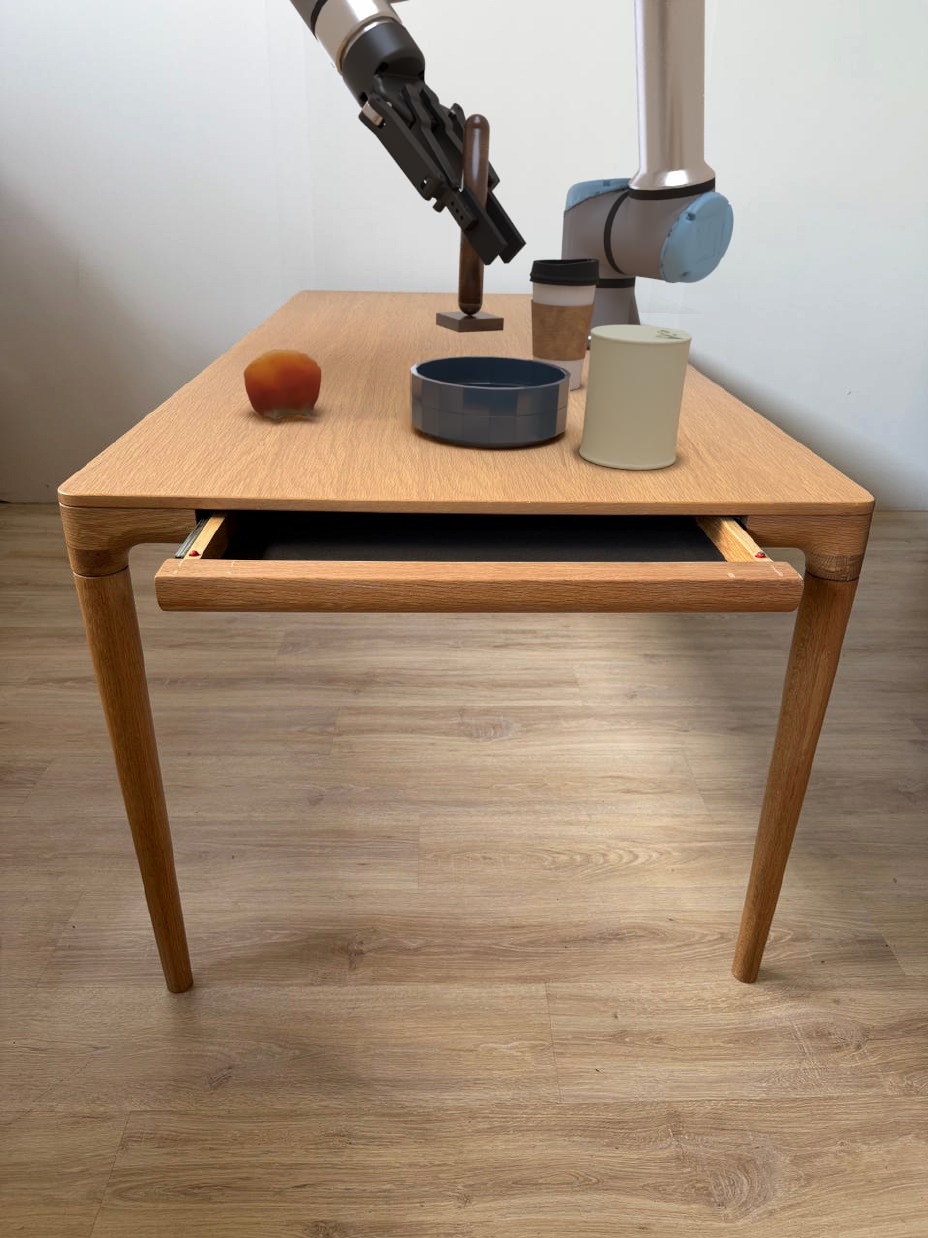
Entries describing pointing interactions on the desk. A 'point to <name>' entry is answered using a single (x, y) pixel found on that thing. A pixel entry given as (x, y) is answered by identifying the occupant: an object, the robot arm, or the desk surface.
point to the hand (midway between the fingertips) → (505, 253)
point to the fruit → (283, 383)
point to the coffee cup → (563, 312)
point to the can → (634, 396)
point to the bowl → (489, 400)
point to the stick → (469, 260)
